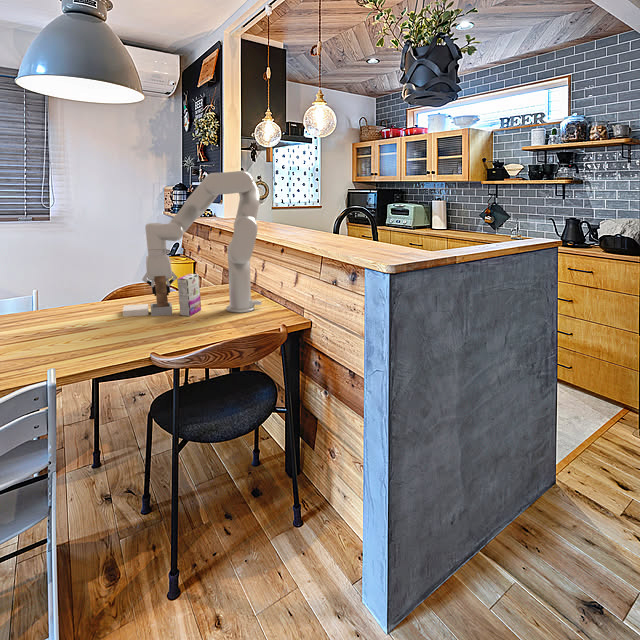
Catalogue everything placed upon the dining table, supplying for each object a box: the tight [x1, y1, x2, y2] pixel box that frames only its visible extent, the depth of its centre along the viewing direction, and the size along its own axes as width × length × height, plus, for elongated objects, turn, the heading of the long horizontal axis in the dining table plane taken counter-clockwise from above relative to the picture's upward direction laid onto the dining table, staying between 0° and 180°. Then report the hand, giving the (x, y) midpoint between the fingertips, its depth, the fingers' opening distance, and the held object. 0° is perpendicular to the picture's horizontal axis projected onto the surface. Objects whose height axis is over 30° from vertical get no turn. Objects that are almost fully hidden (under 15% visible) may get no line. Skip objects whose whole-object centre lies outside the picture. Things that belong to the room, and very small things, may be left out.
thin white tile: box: [122, 303, 149, 318], centre depth 203 cm, size 10×10×2 cm
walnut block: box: [154, 276, 169, 307], centre depth 201 cm, size 4×4×14 cm
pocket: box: [150, 301, 173, 317], centre depth 203 cm, size 9×9×4 cm
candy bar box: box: [176, 273, 202, 317], centre depth 203 cm, size 11×5×16 cm, turn 168°
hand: (161, 294), depth 202 cm, fingers closed on walnut block, 4 cm apart
